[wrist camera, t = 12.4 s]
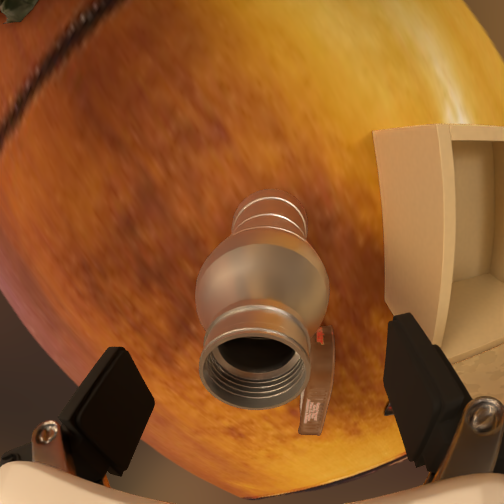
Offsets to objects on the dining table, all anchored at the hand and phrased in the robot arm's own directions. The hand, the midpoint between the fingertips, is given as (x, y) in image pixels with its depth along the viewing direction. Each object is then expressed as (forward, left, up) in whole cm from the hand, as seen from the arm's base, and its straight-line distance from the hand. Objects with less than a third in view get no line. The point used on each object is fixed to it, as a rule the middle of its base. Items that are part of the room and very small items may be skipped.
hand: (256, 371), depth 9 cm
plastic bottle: (0, 0, -20) cm, 20 cm away
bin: (+2, +19, -19) cm, 27 cm away
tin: (+18, +2, -20) cm, 27 cm away
